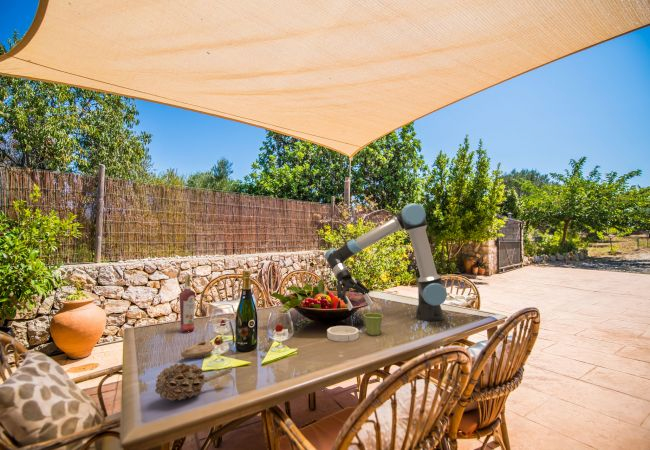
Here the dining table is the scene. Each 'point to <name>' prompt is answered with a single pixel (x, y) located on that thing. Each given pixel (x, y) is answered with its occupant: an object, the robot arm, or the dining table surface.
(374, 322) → the plant pot
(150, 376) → the dining table surface
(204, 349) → the pottery oil lamp
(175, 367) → the banksia seed pod
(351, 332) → the saucer
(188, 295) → the liquor
